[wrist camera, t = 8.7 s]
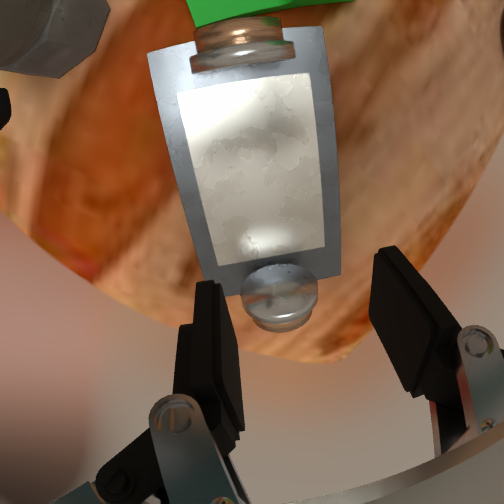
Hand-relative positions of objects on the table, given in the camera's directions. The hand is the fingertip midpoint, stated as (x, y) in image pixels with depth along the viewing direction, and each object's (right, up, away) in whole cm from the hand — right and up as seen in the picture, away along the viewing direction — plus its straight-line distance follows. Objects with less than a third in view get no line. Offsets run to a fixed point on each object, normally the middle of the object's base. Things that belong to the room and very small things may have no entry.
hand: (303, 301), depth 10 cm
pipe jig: (-1, +8, +13) cm, 16 cm away
